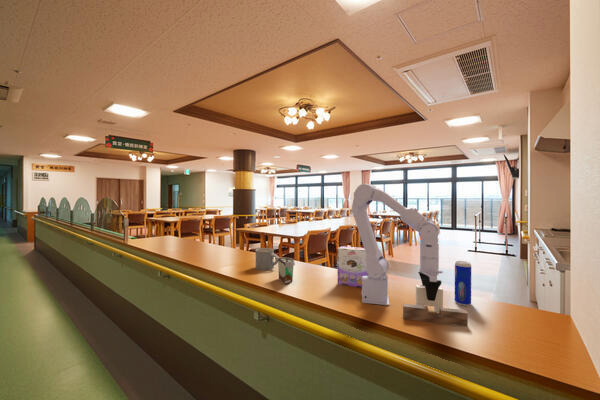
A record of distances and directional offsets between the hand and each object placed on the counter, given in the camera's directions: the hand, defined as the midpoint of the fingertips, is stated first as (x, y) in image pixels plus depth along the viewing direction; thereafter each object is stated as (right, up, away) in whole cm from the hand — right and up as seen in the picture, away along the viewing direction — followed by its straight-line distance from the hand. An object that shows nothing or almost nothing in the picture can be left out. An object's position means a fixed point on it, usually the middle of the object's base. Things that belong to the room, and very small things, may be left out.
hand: (429, 296), depth 91 cm
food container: (-50, -5, +32) cm, 60 cm away
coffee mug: (-63, -5, +54) cm, 82 cm away
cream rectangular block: (0, -5, 0) cm, 5 cm away
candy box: (-20, -5, +27) cm, 34 cm away
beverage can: (+15, -5, +6) cm, 17 cm away
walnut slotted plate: (-2, -5, -8) cm, 9 cm away
